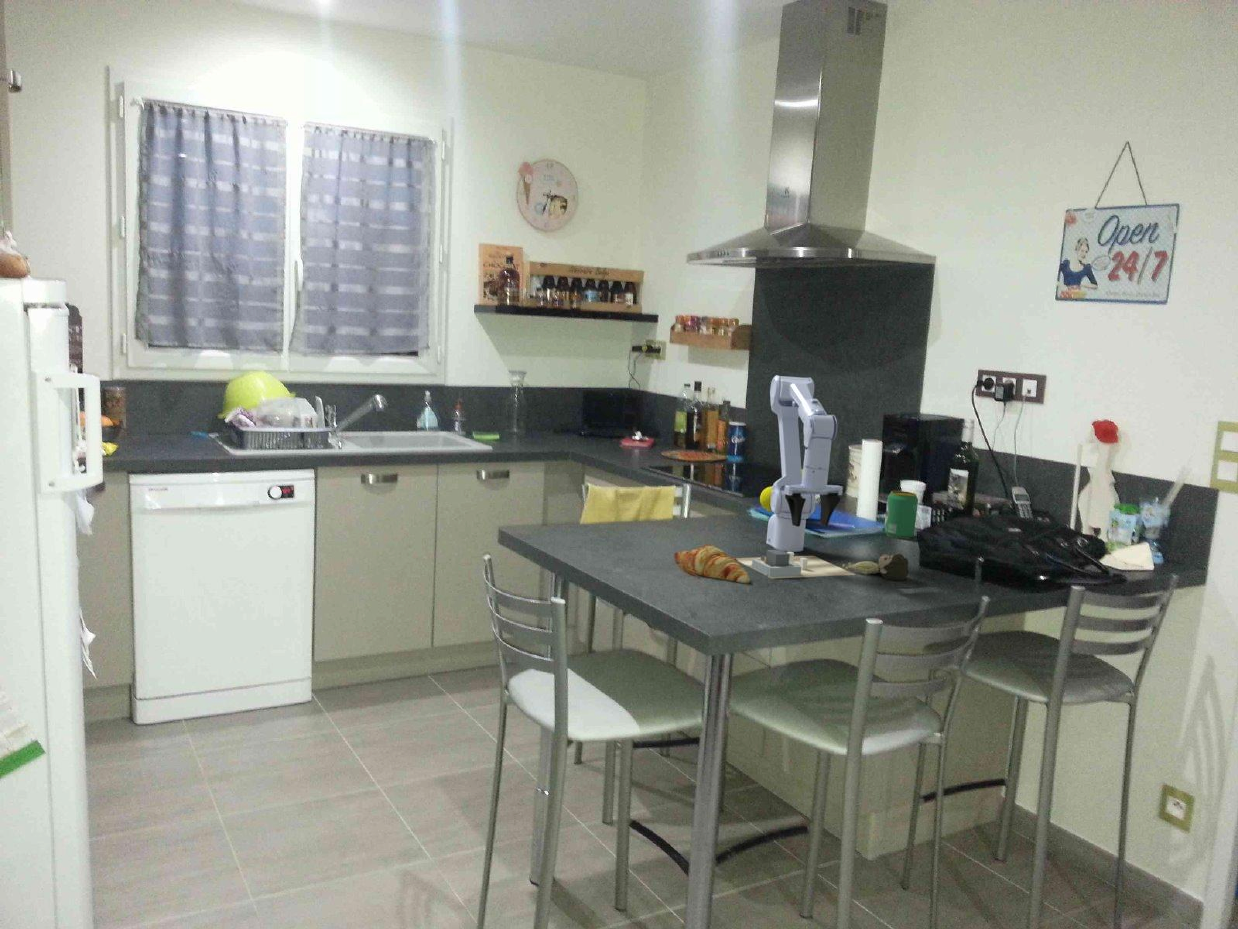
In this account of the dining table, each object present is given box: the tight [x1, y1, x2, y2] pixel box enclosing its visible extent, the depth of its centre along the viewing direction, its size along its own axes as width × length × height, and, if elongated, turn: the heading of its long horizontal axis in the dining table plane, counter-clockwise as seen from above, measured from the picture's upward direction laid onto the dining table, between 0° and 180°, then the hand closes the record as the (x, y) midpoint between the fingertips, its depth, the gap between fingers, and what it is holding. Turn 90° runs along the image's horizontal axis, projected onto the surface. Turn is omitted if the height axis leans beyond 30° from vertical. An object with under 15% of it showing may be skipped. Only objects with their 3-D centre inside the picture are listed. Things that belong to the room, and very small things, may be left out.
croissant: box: [673, 544, 751, 584], centre depth 220 cm, size 21×10×8 cm, turn 46°
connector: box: [760, 549, 790, 567], centre depth 226 cm, size 8×4×4 cm, turn 23°
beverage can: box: [883, 490, 919, 540], centre depth 277 cm, size 8×8×12 cm
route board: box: [735, 555, 857, 579], centre depth 230 cm, size 17×22×1 cm
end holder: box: [751, 559, 801, 578], centre depth 224 cm, size 8×8×2 cm
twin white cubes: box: [786, 551, 808, 570], centre depth 231 cm, size 7×1×2 cm, turn 23°
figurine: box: [841, 553, 910, 582], centre depth 229 cm, size 8×6×15 cm
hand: (809, 525), depth 233 cm, fingers open, 7 cm apart
